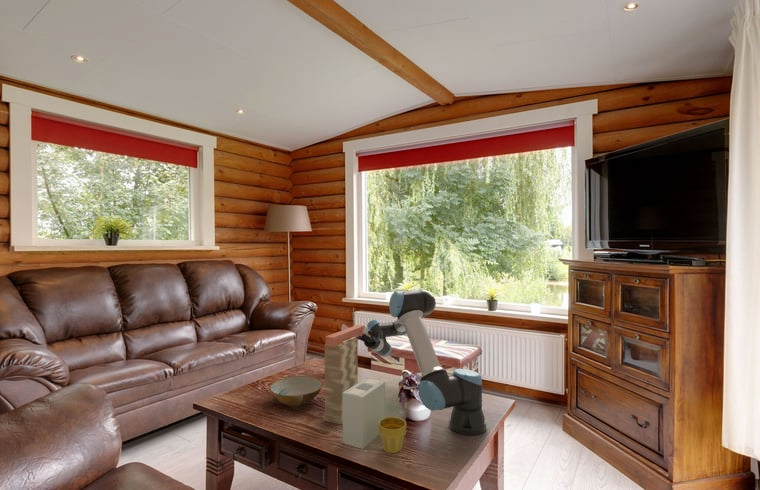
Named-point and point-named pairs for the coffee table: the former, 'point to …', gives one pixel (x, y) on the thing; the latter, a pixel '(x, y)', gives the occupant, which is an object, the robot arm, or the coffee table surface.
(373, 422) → the pale green paneled block
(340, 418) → the birch stand
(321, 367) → the coffee table surface
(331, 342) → the coral square-faced block
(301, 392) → the bowl
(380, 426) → the plant pot
